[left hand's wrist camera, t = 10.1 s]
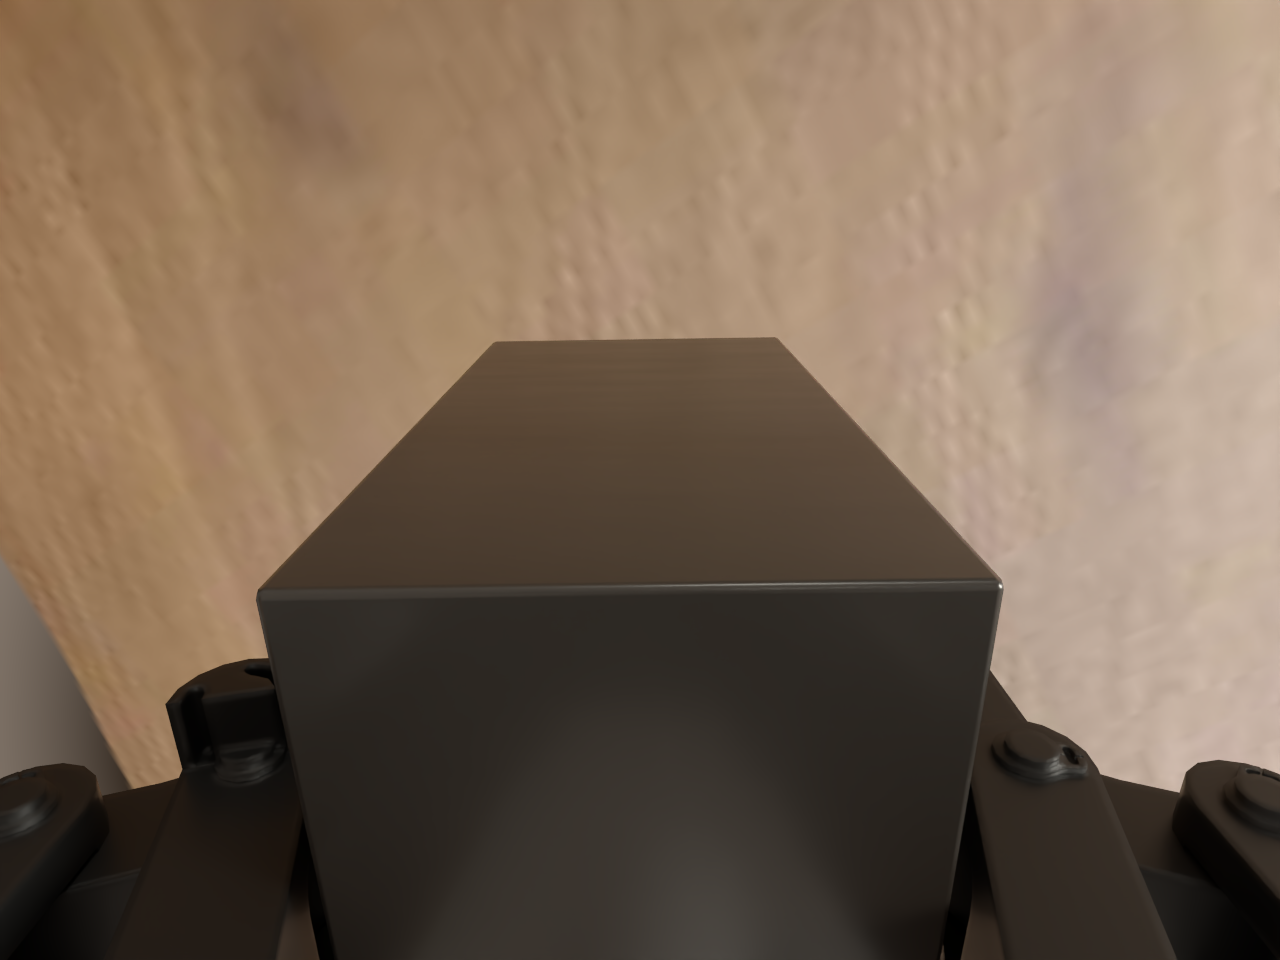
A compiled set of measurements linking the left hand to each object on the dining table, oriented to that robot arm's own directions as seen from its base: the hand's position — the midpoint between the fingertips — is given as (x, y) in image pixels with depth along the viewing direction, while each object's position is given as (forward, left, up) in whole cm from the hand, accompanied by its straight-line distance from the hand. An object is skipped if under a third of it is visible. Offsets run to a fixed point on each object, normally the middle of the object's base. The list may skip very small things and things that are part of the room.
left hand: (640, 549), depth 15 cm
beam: (+13, 0, 0) cm, 13 cm away
